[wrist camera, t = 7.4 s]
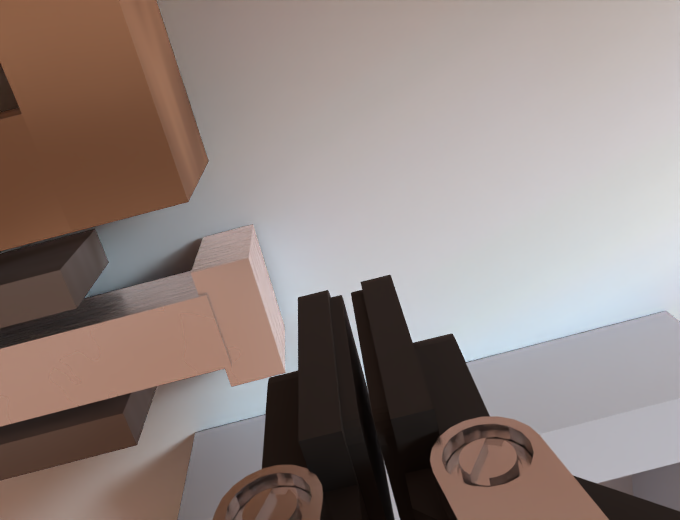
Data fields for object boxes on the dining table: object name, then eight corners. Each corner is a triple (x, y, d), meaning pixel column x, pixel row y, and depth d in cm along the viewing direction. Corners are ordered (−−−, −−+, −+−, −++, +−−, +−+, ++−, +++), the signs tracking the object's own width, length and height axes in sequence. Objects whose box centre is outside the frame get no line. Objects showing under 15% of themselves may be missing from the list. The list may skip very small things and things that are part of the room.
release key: (-216, 346, 18) (-298, 401, 15) (253, 224, 18) (248, 259, 15) (-155, 440, 19) (-223, 505, 16) (284, 326, 19) (285, 374, 16)
